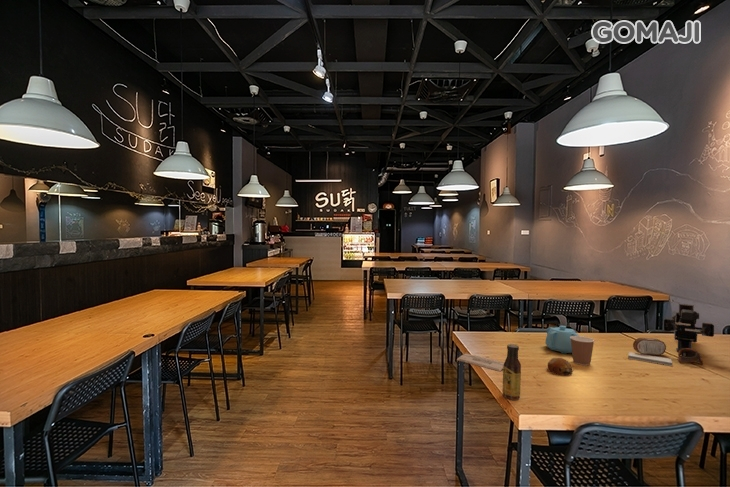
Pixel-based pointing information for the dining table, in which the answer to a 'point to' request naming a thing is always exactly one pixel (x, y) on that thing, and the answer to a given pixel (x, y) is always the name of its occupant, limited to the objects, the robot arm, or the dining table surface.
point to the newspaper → (481, 362)
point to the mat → (650, 358)
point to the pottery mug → (689, 355)
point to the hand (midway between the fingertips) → (689, 330)
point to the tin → (649, 346)
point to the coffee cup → (582, 349)
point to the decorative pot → (560, 339)
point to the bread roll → (560, 366)
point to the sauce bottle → (512, 373)
